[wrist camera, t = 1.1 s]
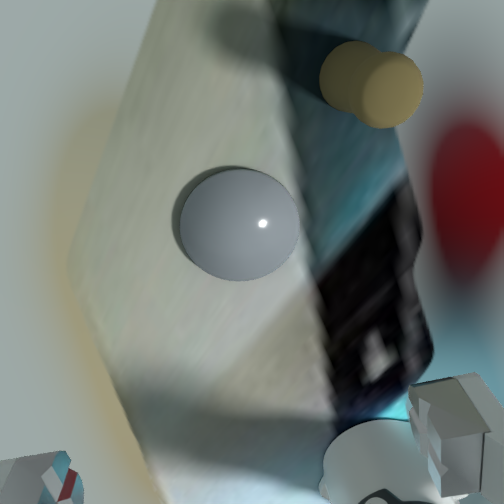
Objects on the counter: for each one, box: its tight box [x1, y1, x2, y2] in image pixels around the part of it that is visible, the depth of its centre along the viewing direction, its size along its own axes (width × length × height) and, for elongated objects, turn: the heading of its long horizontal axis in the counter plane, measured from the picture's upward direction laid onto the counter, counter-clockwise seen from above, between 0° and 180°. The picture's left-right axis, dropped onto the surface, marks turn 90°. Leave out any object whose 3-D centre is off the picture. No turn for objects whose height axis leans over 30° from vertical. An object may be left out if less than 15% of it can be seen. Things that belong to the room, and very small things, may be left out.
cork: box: [319, 41, 423, 129], centre depth 37 cm, size 6×6×11 cm
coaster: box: [180, 169, 300, 281], centre depth 47 cm, size 12×12×1 cm
